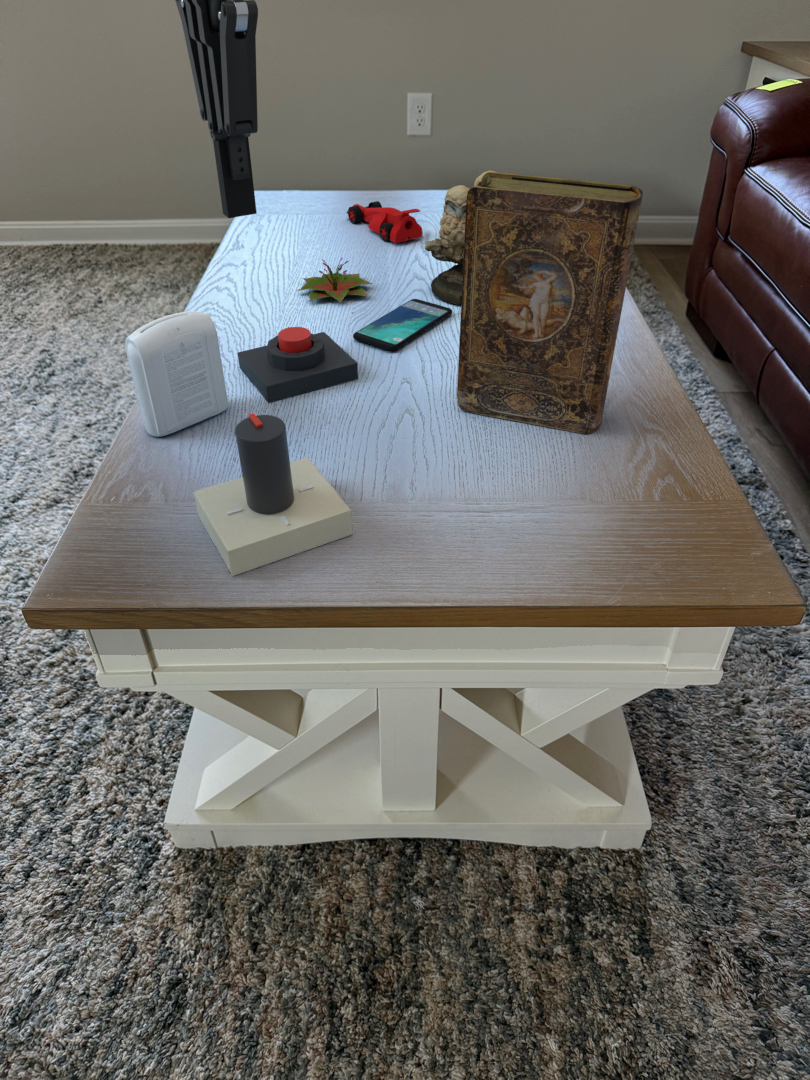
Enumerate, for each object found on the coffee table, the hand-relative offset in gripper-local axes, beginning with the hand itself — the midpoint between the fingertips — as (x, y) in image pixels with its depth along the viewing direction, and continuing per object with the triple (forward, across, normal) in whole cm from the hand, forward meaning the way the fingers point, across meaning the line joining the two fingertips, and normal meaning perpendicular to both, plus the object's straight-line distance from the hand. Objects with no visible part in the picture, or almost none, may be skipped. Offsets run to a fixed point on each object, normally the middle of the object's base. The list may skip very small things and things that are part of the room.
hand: (239, 213), depth 72 cm
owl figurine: (+24, +21, -43) cm, 54 cm away
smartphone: (+24, +17, -27) cm, 40 cm away
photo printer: (+25, +9, +6) cm, 27 cm away
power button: (+21, +12, -9) cm, 26 cm away
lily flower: (+24, +33, -24) cm, 48 cm away
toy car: (+24, +54, -44) cm, 73 cm away
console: (+24, -15, +5) cm, 29 cm away
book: (+24, -10, -29) cm, 39 cm away
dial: (+21, -15, +5) cm, 26 cm away
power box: (+24, +12, -9) cm, 29 cm away
